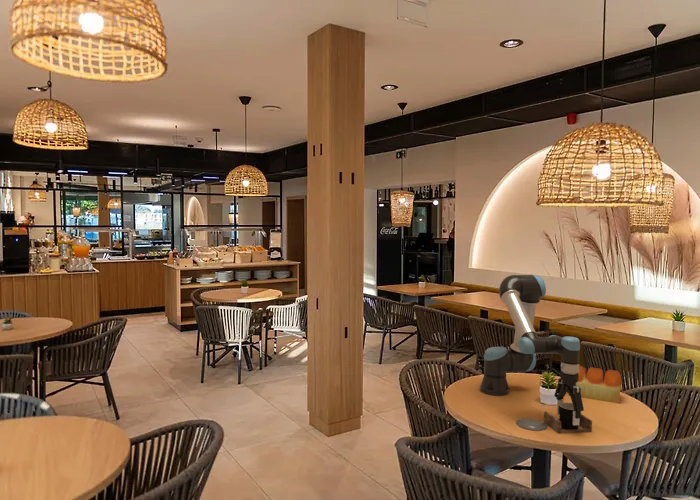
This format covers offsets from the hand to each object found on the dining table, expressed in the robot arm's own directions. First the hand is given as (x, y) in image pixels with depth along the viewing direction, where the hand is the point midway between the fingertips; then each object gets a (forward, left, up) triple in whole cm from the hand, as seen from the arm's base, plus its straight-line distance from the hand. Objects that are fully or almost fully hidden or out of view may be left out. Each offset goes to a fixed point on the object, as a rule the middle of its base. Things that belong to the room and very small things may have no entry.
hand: (567, 419), depth 232 cm
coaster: (-4, -15, -3) cm, 16 cm away
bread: (-37, +38, -4) cm, 53 cm away
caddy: (0, 0, -3) cm, 3 cm away
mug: (0, 0, -4) cm, 4 cm away
